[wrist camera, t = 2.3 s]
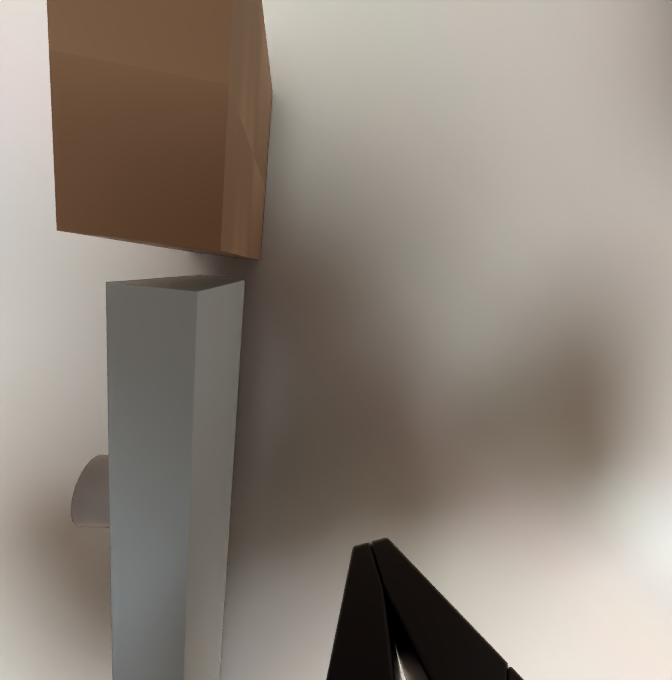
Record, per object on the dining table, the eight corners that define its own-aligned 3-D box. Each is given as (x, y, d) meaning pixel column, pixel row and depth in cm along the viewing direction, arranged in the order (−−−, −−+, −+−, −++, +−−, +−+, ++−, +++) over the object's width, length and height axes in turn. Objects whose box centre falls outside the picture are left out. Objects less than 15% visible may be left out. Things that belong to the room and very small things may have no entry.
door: (218, 694, 10) (174, 951, 6) (142, 698, 10) (45, 973, 6) (245, 280, 8) (197, 291, 4) (144, 269, 8) (-14, 269, 4)
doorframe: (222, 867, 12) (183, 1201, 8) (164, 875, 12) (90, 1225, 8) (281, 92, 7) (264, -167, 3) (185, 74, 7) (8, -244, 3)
